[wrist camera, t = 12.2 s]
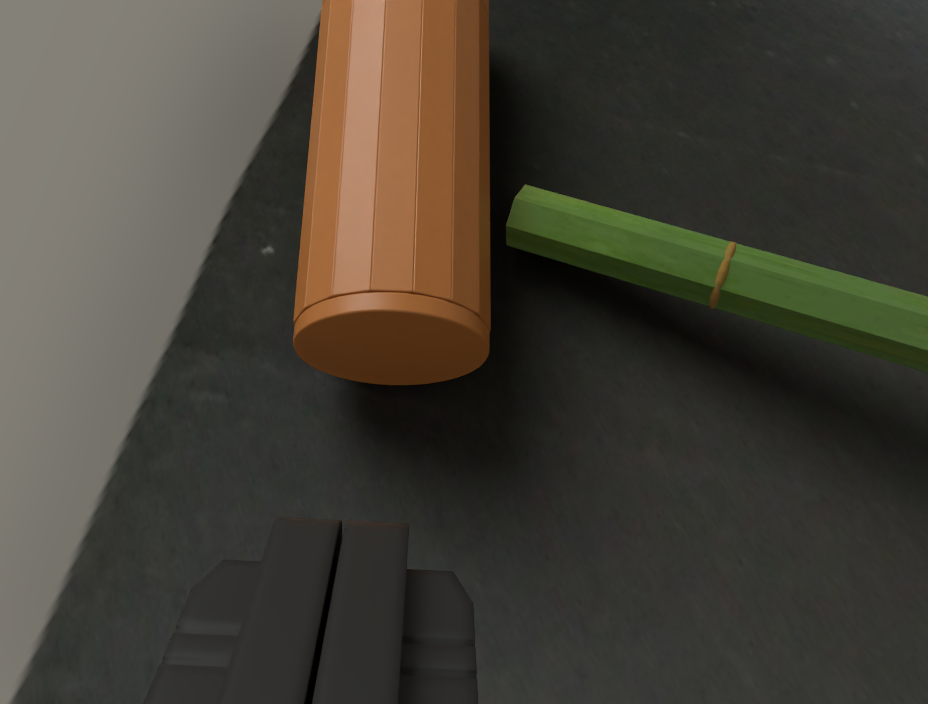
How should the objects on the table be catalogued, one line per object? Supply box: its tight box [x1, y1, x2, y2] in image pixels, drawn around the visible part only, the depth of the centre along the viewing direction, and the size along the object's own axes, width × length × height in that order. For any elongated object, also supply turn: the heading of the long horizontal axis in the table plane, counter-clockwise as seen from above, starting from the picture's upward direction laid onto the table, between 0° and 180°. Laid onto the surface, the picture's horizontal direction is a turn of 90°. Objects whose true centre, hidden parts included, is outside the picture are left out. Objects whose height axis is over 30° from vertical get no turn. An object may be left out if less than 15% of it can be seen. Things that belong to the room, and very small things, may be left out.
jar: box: [293, 0, 491, 385], centre depth 28 cm, size 6×6×15 cm
